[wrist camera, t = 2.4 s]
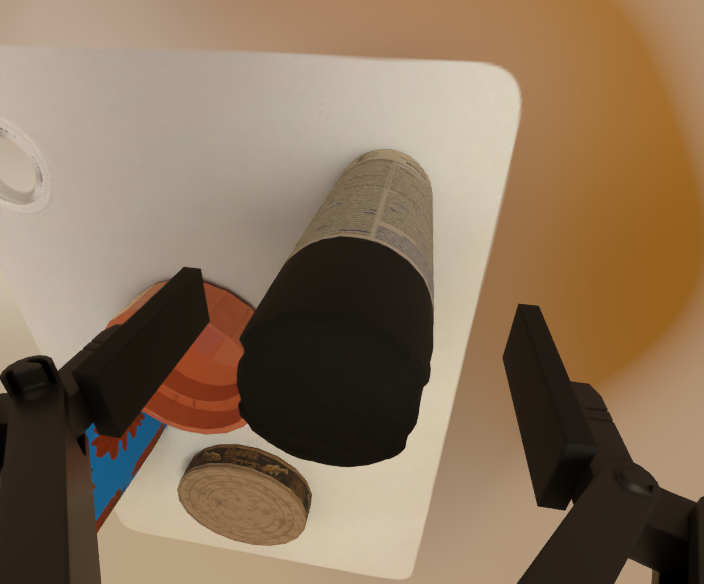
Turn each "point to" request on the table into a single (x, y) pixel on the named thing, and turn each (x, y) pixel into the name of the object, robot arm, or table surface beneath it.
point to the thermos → (119, 461)
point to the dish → (202, 368)
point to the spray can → (347, 322)
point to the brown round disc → (245, 495)
